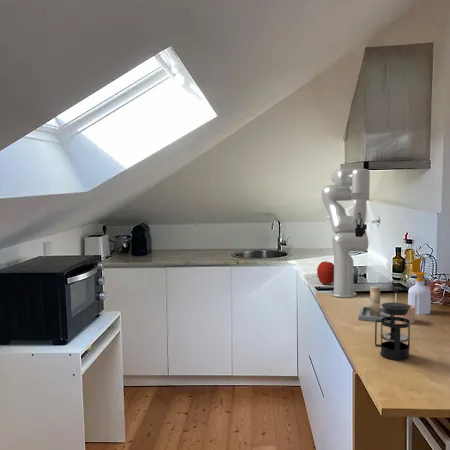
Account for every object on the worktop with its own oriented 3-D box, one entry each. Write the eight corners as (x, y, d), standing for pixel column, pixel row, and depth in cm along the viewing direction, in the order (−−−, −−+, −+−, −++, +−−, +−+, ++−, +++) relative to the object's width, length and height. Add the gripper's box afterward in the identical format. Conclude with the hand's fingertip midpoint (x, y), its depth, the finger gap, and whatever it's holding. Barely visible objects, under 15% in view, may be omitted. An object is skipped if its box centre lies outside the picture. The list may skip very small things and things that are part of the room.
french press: (409, 351, 165) (410, 284, 163) (414, 361, 156) (416, 291, 154) (373, 349, 167) (374, 283, 165) (376, 359, 158) (377, 290, 156)
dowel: (370, 313, 207) (370, 286, 206) (380, 314, 206) (380, 286, 204) (369, 316, 203) (369, 288, 202) (379, 317, 202) (379, 289, 201)
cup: (396, 320, 201) (396, 303, 200) (414, 321, 199) (414, 304, 198) (396, 324, 195) (396, 307, 194) (414, 326, 192) (414, 309, 191)
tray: (361, 311, 214) (361, 306, 214) (390, 314, 210) (390, 308, 210) (358, 322, 199) (358, 316, 199) (389, 324, 195) (389, 318, 195)
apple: (316, 285, 267) (316, 260, 266) (318, 282, 277) (318, 257, 276) (335, 286, 264) (335, 261, 263) (336, 282, 274) (336, 258, 273)
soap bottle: (416, 317, 205) (418, 259, 203) (403, 311, 214) (404, 256, 211) (435, 315, 207) (436, 258, 205) (421, 309, 216) (422, 255, 214)
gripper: (353, 196, 224) (353, 233, 225) (349, 197, 208) (349, 237, 209) (370, 196, 221) (370, 233, 223) (367, 197, 205) (367, 238, 207)
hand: (360, 235), depth 216 cm, fingers open, 9 cm apart
